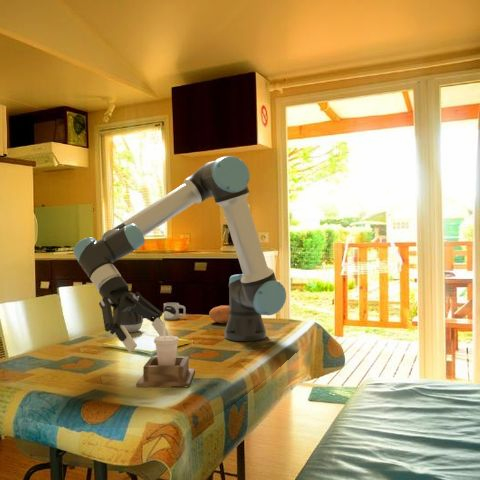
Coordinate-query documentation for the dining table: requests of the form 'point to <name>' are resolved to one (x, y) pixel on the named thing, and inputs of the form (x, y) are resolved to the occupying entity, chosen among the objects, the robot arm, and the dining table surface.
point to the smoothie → (166, 349)
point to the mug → (173, 311)
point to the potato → (220, 314)
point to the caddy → (166, 374)
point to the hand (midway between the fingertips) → (151, 343)
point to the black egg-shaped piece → (131, 320)
